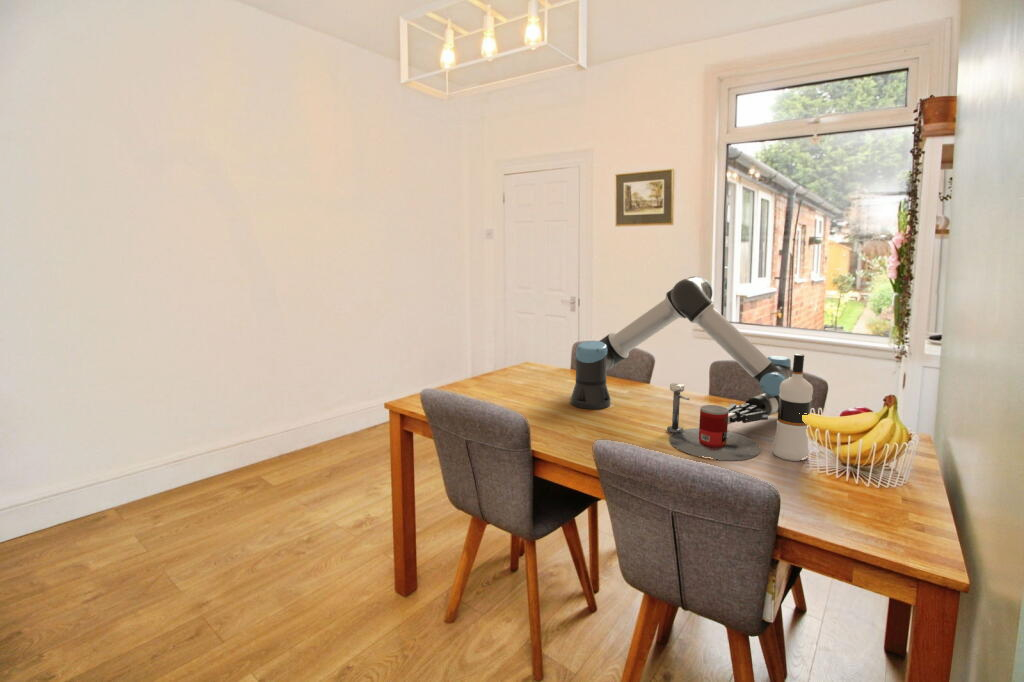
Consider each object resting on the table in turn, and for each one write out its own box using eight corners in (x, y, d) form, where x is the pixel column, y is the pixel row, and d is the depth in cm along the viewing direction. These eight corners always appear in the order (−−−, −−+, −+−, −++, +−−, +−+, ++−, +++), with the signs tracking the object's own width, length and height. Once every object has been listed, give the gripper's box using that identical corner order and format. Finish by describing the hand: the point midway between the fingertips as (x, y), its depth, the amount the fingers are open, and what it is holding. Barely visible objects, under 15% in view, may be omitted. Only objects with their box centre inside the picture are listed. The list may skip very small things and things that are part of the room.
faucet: (663, 430, 174) (665, 384, 171) (673, 427, 177) (675, 382, 174) (682, 436, 169) (684, 389, 166) (691, 433, 172) (694, 386, 169)
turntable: (656, 431, 174) (656, 430, 174) (731, 427, 177) (731, 426, 177) (692, 463, 148) (692, 462, 148) (779, 457, 152) (779, 456, 152)
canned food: (728, 448, 158) (730, 413, 156) (700, 446, 160) (702, 411, 158) (724, 439, 165) (726, 405, 163) (697, 437, 167) (699, 404, 165)
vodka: (766, 455, 153) (775, 354, 148) (779, 447, 160) (788, 349, 154) (800, 465, 147) (811, 359, 141) (813, 456, 153) (823, 354, 147)
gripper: (779, 422, 173) (740, 438, 159) (741, 412, 183) (702, 427, 169) (781, 400, 172) (742, 414, 158) (743, 391, 182) (703, 404, 168)
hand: (721, 421), depth 164 cm, fingers closed
